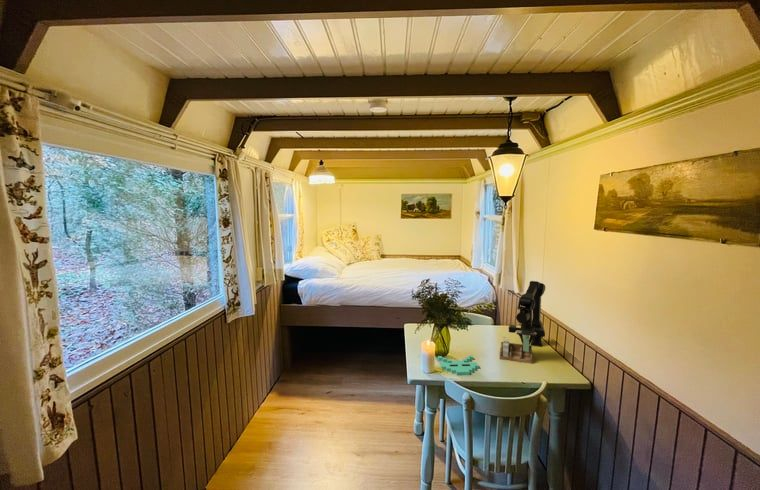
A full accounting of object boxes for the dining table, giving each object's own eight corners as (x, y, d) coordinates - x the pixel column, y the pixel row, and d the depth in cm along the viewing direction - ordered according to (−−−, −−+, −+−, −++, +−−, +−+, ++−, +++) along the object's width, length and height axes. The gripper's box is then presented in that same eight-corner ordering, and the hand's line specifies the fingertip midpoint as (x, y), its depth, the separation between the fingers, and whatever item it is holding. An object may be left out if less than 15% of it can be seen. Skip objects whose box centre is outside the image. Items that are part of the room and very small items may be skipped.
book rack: (501, 349, 206) (501, 337, 205) (531, 353, 199) (531, 340, 198) (499, 359, 193) (499, 345, 192) (531, 363, 186) (532, 349, 185)
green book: (523, 344, 198) (523, 331, 197) (528, 345, 197) (529, 332, 196) (523, 351, 189) (523, 337, 188) (528, 351, 188) (529, 338, 187)
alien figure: (437, 359, 195) (444, 376, 176) (437, 356, 195) (444, 372, 175) (472, 359, 195) (482, 375, 175) (472, 355, 195) (482, 371, 175)
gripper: (508, 320, 188) (508, 347, 189) (545, 324, 180) (544, 352, 182) (509, 315, 198) (509, 340, 199) (544, 318, 190) (543, 344, 192)
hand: (526, 344), depth 193 cm, fingers closed on green book, 3 cm apart
